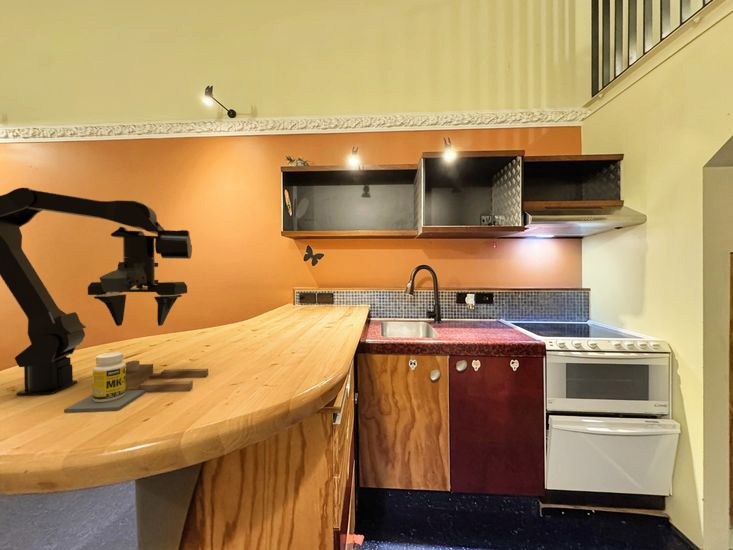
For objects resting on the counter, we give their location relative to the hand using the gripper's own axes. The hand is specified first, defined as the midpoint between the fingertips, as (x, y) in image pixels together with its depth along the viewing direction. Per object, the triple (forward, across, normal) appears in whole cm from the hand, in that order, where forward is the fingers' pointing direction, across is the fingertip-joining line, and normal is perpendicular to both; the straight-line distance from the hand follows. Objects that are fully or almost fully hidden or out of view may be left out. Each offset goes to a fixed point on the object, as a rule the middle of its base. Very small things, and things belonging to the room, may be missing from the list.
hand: (139, 325), depth 69 cm
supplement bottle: (+12, +2, -11) cm, 17 cm away
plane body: (+13, +7, -3) cm, 15 cm away
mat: (+12, +2, -11) cm, 17 cm away
